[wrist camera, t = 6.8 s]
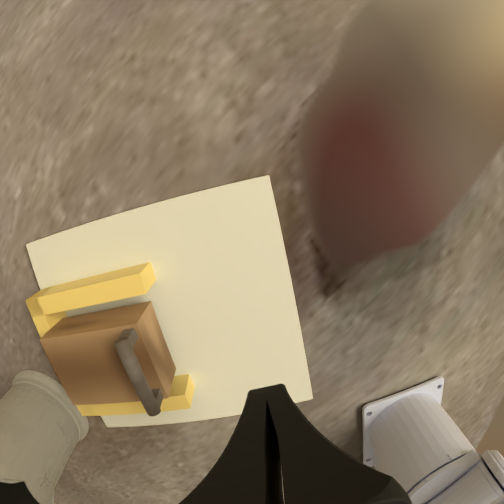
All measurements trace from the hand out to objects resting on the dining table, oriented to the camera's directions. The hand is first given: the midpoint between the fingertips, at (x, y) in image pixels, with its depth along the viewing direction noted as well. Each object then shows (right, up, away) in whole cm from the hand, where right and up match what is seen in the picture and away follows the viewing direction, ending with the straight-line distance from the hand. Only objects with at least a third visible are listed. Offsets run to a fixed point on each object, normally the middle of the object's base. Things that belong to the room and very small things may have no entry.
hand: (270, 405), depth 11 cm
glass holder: (-20, -11, +12) cm, 26 cm away
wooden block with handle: (-10, 0, +9) cm, 13 cm away
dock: (-6, +1, +10) cm, 12 cm away
